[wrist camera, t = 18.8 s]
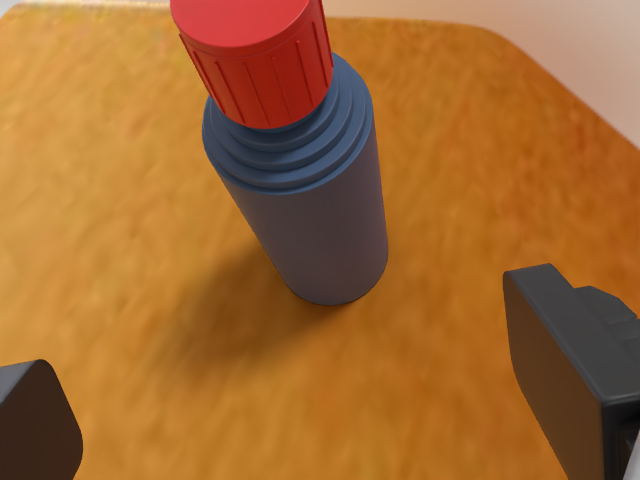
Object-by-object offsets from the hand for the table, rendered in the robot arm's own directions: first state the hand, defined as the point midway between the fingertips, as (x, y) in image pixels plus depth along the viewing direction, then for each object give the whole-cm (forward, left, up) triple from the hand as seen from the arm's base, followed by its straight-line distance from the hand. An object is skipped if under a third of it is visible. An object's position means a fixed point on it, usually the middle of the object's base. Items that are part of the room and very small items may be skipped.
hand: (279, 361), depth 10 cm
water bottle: (-4, +10, -20) cm, 23 cm away
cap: (-4, +10, -5) cm, 12 cm away
